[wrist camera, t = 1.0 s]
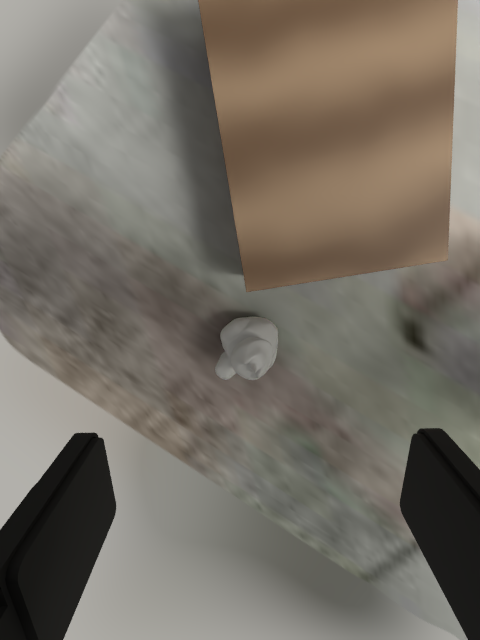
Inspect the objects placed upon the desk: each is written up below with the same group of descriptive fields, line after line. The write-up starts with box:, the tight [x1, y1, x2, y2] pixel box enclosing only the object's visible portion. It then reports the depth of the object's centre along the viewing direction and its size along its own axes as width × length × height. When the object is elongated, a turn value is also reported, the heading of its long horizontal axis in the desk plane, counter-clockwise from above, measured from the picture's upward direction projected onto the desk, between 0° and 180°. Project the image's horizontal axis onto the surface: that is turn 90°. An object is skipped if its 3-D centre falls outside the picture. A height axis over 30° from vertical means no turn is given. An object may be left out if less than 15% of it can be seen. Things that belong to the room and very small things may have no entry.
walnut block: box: [198, 0, 458, 292], centre depth 22 cm, size 18×14×6 cm
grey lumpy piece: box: [215, 316, 278, 380], centre depth 27 cm, size 5×7×8 cm
